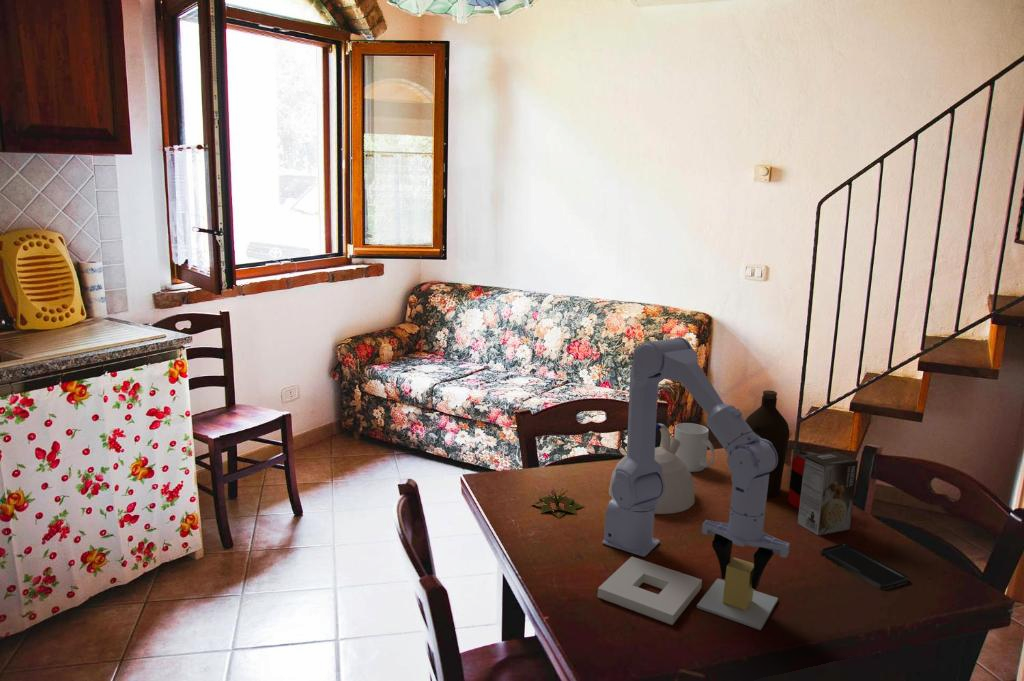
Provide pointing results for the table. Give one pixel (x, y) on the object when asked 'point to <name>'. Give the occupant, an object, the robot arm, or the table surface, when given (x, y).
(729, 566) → the block
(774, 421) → the olive oil
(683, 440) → the mug
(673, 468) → the kettle
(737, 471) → the robot arm
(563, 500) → the green leafy plant
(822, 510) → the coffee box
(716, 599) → the mat
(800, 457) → the soda can
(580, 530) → the table surface
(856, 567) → the phone
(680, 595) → the pocket holder
